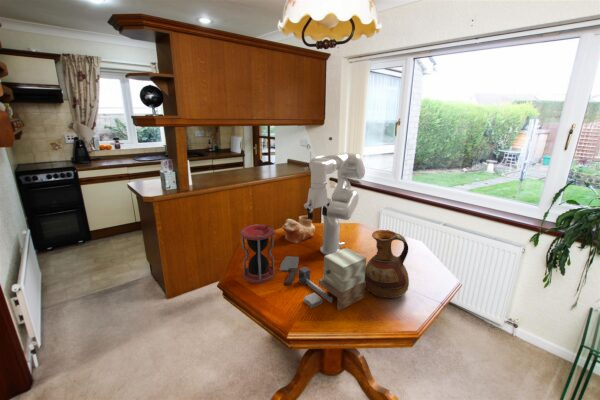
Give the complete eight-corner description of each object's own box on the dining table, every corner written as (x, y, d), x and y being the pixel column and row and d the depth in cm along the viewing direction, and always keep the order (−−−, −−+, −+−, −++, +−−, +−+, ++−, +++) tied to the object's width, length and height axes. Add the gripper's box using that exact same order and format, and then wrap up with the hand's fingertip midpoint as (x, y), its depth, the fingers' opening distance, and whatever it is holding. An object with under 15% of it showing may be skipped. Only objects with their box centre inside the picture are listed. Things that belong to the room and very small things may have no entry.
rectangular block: (314, 296, 133) (314, 292, 132) (322, 303, 128) (322, 299, 127) (303, 301, 129) (303, 297, 129) (312, 308, 125) (312, 304, 124)
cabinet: (343, 282, 143) (345, 246, 137) (364, 297, 132) (368, 258, 126) (318, 294, 134) (319, 255, 128) (339, 310, 123) (341, 269, 117)
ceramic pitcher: (360, 278, 147) (364, 223, 138) (400, 279, 147) (407, 224, 138) (367, 302, 129) (373, 241, 120) (413, 303, 128) (422, 242, 119)
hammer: (304, 278, 146) (305, 266, 144) (334, 301, 130) (335, 288, 127) (298, 281, 144) (298, 268, 142) (328, 304, 127) (328, 291, 125)
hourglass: (276, 281, 144) (275, 235, 136) (243, 285, 141) (241, 238, 133) (272, 265, 159) (271, 222, 151) (242, 268, 156) (240, 225, 148)
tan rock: (277, 240, 190) (276, 218, 186) (305, 229, 207) (305, 209, 203) (291, 247, 180) (290, 224, 176) (319, 235, 198) (320, 214, 193)
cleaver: (294, 286, 140) (294, 283, 140) (274, 285, 141) (274, 282, 140) (299, 258, 168) (299, 254, 168) (283, 257, 169) (283, 253, 168)
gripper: (326, 181, 154) (325, 212, 159) (300, 186, 144) (299, 218, 149) (336, 184, 148) (334, 215, 153) (309, 189, 138) (308, 222, 143)
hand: (317, 217), depth 151 cm, fingers open, 9 cm apart
